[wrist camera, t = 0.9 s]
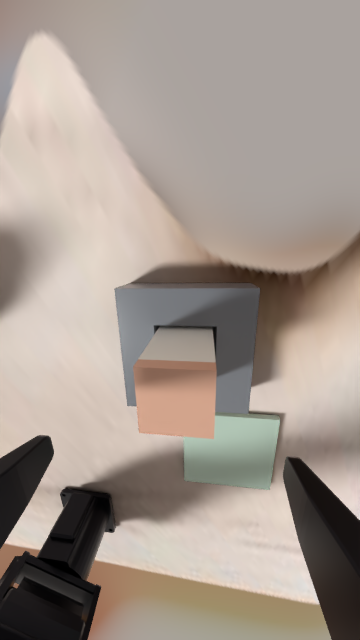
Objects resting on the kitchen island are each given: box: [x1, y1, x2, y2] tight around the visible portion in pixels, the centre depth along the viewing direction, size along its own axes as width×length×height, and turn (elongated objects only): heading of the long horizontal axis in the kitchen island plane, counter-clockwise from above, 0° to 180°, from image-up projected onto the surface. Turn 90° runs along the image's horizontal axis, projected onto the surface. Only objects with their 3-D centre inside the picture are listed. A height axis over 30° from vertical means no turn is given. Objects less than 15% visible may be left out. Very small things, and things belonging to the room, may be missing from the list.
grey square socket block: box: [115, 283, 260, 414], centre depth 17 cm, size 10×10×3 cm
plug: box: [133, 325, 217, 439], centre depth 14 cm, size 4×4×8 cm
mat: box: [184, 412, 280, 490], centre depth 21 cm, size 9×9×1 cm
